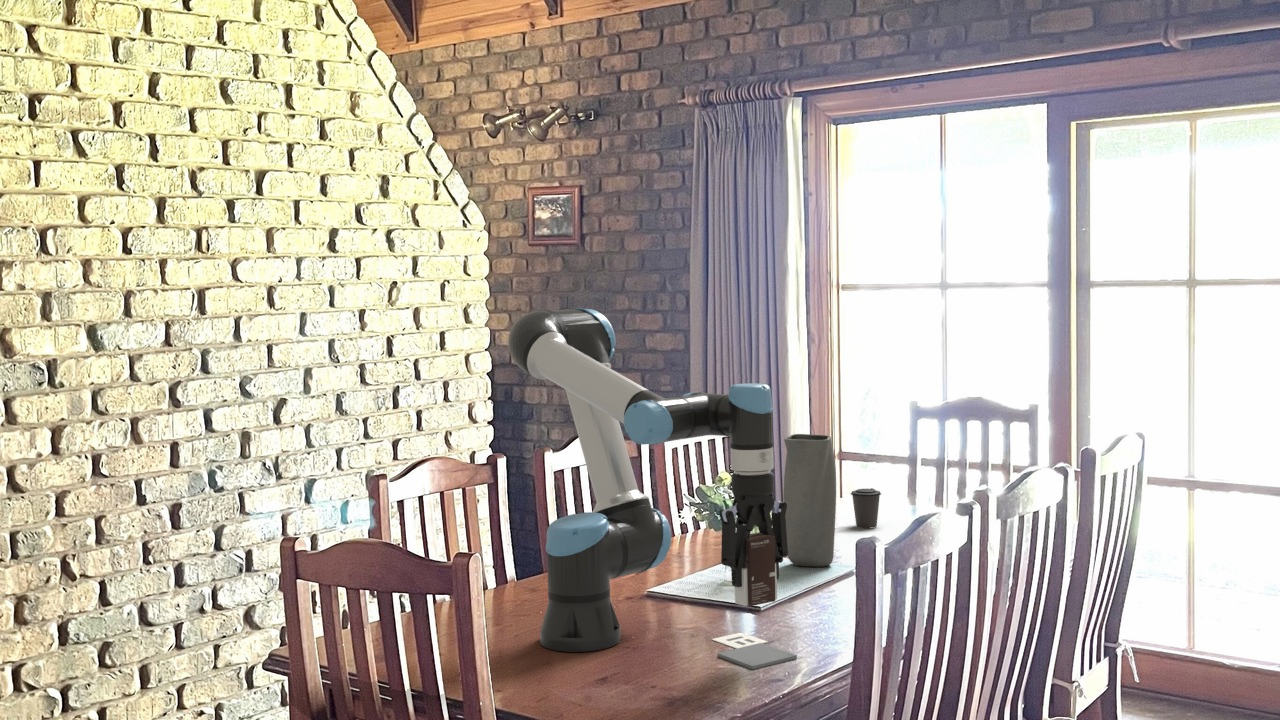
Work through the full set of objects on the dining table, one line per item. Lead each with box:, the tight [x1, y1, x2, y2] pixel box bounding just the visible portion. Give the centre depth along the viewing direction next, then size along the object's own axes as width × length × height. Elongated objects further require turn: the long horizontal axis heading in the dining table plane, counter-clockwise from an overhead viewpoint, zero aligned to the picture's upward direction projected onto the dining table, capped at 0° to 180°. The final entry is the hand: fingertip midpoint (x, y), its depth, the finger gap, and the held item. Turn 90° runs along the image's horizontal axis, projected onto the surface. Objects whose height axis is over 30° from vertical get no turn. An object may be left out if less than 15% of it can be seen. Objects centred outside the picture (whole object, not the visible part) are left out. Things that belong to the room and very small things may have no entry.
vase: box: [782, 433, 837, 568], centre depth 300 cm, size 12×12×30 cm
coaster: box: [716, 643, 798, 670], centre depth 229 cm, size 10×10×1 cm
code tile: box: [711, 632, 769, 649], centre depth 239 cm, size 7×8×1 cm
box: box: [743, 532, 776, 607], centre depth 228 cm, size 6×4×12 cm
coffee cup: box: [850, 487, 882, 529], centre depth 343 cm, size 8×8×10 cm
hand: (756, 601), depth 228 cm, fingers closed on box, 6 cm apart
